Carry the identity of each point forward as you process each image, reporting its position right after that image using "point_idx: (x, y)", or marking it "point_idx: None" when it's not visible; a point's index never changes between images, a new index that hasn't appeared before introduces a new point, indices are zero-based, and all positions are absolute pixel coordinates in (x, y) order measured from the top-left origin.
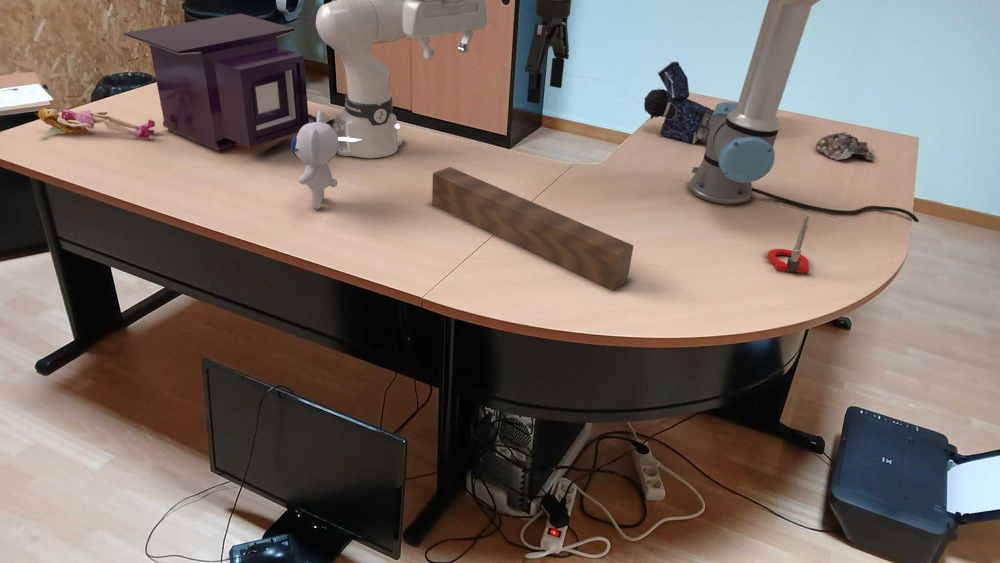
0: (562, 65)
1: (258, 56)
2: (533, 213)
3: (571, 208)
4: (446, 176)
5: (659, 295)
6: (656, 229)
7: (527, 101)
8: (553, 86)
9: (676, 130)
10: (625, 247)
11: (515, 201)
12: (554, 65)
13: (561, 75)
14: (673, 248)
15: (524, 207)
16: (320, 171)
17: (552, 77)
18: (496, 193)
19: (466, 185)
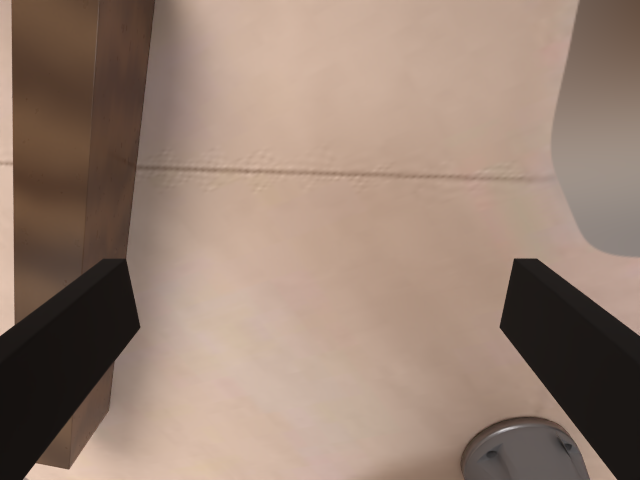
0: (606, 465)
1: None
2: (32, 288)
3: (298, 260)
4: None
5: (103, 450)
6: (304, 407)
7: (103, 261)
8: (508, 286)
9: None
10: (50, 461)
11: (51, 228)
12: (624, 384)
13: (549, 387)
14: (253, 438)
15: (41, 260)
16: None
17: (547, 306)
18: (52, 163)
19: (26, 54)
